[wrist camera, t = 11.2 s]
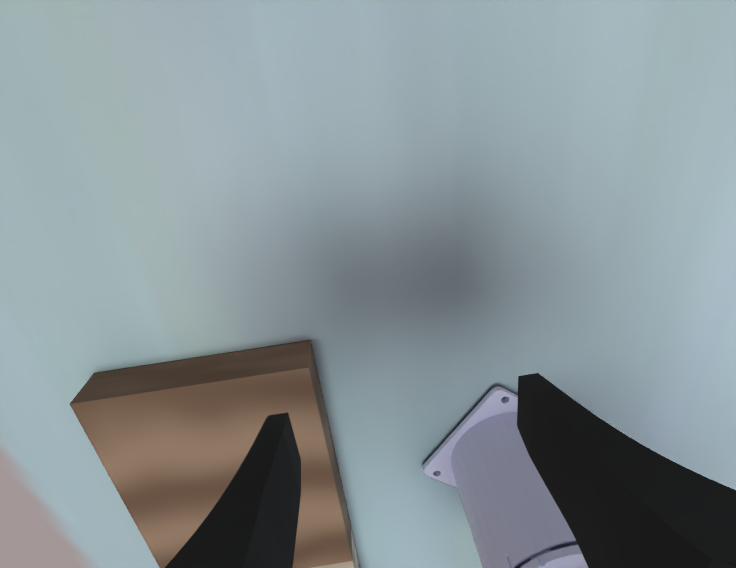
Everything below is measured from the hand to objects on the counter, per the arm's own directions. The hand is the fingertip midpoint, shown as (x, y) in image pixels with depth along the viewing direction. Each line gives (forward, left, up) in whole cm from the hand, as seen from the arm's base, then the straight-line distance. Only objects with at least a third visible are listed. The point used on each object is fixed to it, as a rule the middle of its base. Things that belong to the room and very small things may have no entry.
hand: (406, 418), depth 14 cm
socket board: (-2, +18, -10) cm, 21 cm away
